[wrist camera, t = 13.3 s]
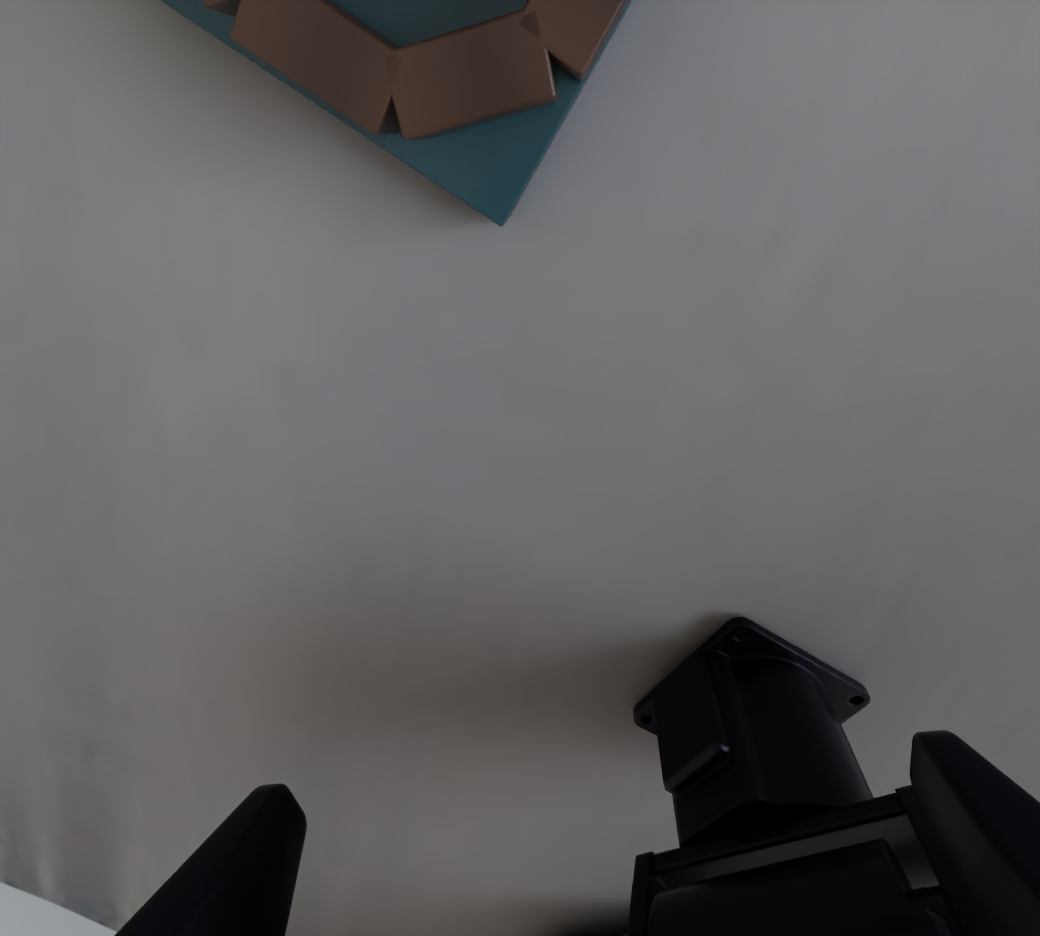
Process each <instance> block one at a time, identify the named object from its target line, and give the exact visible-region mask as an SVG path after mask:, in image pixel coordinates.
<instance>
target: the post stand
mask: <svg viewBox="0 0 1040 936" xmlns="http://www.w3.org/2000/svg"><path fill="white" fill-rule="evenodd" d="M161 1H162V2H164V3H165V4H167V5H168V6H170V7H171V8H173V9H174V10H176V11H177V12H179V13H180V14H182V15H183V16H185V17H186V18H188V19H189V20H191V21H192V22H194V23H195V24H197V25H198V26H200V27H201V28H203V29H204V30H206V31H207V32H209V33H210V34H212V35H213V36H215V37H216V38H218V39H219V40H221V41H222V42H224V43H225V44H227V45H228V46H230V47H231V48H233V49H234V50H236V51H237V52H239V53H240V54H242V55H243V56H245V57H246V58H248V59H249V60H251V61H252V62H254V63H256V64H257V65H259V66H260V67H262V68H263V69H265V70H266V71H268V72H269V73H271V74H272V75H274V76H275V77H277V78H278V79H280V80H281V81H283V82H284V83H286V84H287V85H289V86H290V87H292V88H293V89H295V90H296V91H298V92H299V93H301V94H302V95H304V96H305V97H307V98H308V99H310V100H311V101H313V102H314V103H316V104H317V105H319V106H320V107H322V108H323V109H325V110H326V111H328V112H329V113H331V114H332V115H334V116H335V117H337V118H338V119H340V120H341V121H343V122H344V123H346V124H347V125H349V126H350V127H352V128H353V129H355V130H356V131H358V132H359V133H361V134H362V135H364V136H365V137H367V138H368V139H370V140H371V141H373V142H374V143H376V144H377V145H379V146H380V147H382V148H383V149H385V150H386V151H388V152H389V153H391V154H392V155H394V156H395V157H397V158H398V159H400V160H401V161H403V162H404V163H406V164H407V165H409V166H410V167H412V168H413V169H415V170H416V171H418V172H419V173H421V174H422V175H424V176H425V177H427V178H428V179H430V180H431V181H433V182H434V183H436V184H437V185H439V186H440V187H442V188H443V189H445V190H446V191H448V192H449V193H451V194H452V195H454V196H455V197H457V198H458V199H460V200H461V201H463V202H464V203H466V204H468V205H469V206H471V207H472V208H474V209H475V210H477V211H478V212H480V213H481V214H483V215H484V216H486V217H487V218H489V219H490V220H492V221H493V222H495V223H496V224H498V225H499V226H503V225H504V224H505V223H506V221H507V220H508V218H509V217H510V215H511V213H512V211H513V210H514V208H515V206H516V204H517V203H518V201H519V199H520V197H521V196H522V194H523V192H524V190H525V188H526V187H527V185H528V183H529V181H530V180H531V178H532V176H533V174H534V173H535V171H536V169H537V167H538V166H539V164H540V162H541V160H542V158H543V157H544V155H545V153H546V151H547V150H548V148H549V146H550V144H551V143H552V141H553V139H554V137H555V136H556V134H557V132H558V130H559V129H560V127H561V125H562V123H563V121H564V120H565V118H566V116H567V114H568V113H569V111H570V109H571V107H572V106H573V104H574V102H575V100H576V99H577V97H578V95H579V93H580V92H581V90H582V88H583V86H584V84H585V83H586V81H587V79H588V77H589V76H590V74H591V72H592V70H593V69H594V67H595V65H596V63H597V62H598V60H599V58H600V56H601V54H602V53H603V51H604V49H605V47H606V46H607V44H608V42H609V40H610V39H611V37H612V35H613V33H614V32H615V30H616V28H617V26H618V25H619V23H620V21H621V19H622V17H623V16H624V14H625V12H626V10H627V9H628V7H629V5H630V3H631V2H632V0H629V1H628V3H627V5H626V7H625V8H624V10H623V12H622V14H621V15H620V17H619V19H618V21H617V22H616V24H615V26H614V28H613V30H612V31H611V33H610V35H609V37H608V38H607V40H606V42H605V44H604V46H603V47H602V49H601V51H600V53H599V54H598V56H597V58H596V60H595V61H594V63H593V65H592V67H591V69H590V70H589V72H588V74H587V76H586V77H585V79H584V81H582V82H579V81H577V80H576V79H575V78H573V77H572V76H570V75H569V74H568V73H566V72H565V71H564V70H562V69H561V68H560V67H558V66H557V65H556V64H554V63H553V62H552V63H553V69H554V74H555V80H556V85H557V91H558V97H559V98H558V102H557V103H555V104H552V105H548V106H545V107H541V108H537V109H534V110H530V111H527V112H523V113H519V114H516V115H512V116H509V117H505V118H502V119H498V120H494V121H491V122H487V123H484V124H480V125H476V126H473V127H469V128H466V129H462V130H458V131H455V132H451V133H448V134H444V135H440V136H437V137H433V138H430V139H423V140H405V139H404V138H403V136H402V133H401V130H400V132H399V133H398V134H372V133H370V132H369V131H367V130H366V129H364V128H363V127H361V126H360V125H358V124H357V123H355V122H354V121H352V120H351V119H349V118H348V117H346V116H345V115H343V114H342V113H340V112H339V111H337V110H336V109H334V108H333V107H331V106H330V105H328V104H327V103H325V102H324V101H322V100H321V99H319V98H318V97H316V96H315V95H313V94H312V93H310V92H309V91H307V90H306V89H304V88H303V87H301V86H300V85H298V84H297V83H295V82H294V81H292V80H291V79H289V78H288V77H286V76H285V75H283V74H282V73H280V72H279V71H277V70H276V69H274V68H273V67H271V66H270V65H268V64H267V63H265V62H264V61H262V60H261V59H259V58H258V57H256V56H255V55H253V54H252V53H250V52H249V51H247V50H246V49H244V48H243V47H241V46H240V45H238V44H237V43H235V42H234V41H232V39H231V38H230V33H231V29H232V26H233V23H234V19H235V17H233V16H230V15H227V14H224V13H221V12H218V11H215V10H212V9H209V8H206V7H205V6H204V4H203V1H202V0H161ZM333 1H335V2H336V3H337V4H339V5H340V6H342V7H343V8H344V9H346V10H347V11H349V12H350V13H352V14H353V15H354V16H356V17H357V18H359V19H360V20H362V21H363V22H364V23H366V24H367V25H369V26H370V27H372V28H373V29H374V30H376V31H377V32H379V33H380V34H381V35H383V36H384V37H386V38H387V39H389V40H390V41H391V42H393V43H394V44H396V45H397V46H399V47H402V46H406V45H409V44H412V43H415V42H419V41H422V40H425V39H428V38H432V37H435V36H438V35H441V34H445V33H448V32H451V31H454V30H457V29H461V28H464V27H467V26H470V25H474V24H477V23H480V22H483V21H487V20H490V19H493V18H496V17H499V16H503V15H506V14H509V13H512V12H516V11H519V10H522V9H523V8H524V6H525V4H526V2H527V0H333Z"/></svg>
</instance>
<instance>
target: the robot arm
mask: <svg viewBox="0 0 1040 936" xmlns="http://www.w3.org/2000/svg"><path fill="white" fill-rule="evenodd" d="M738 630H744V631H743V632H739V633H736V631H738ZM869 702H870V696H869V694H868V692H867V690H866V688H865V687H864V686H863V685H862V684H860V683H859V682H857V681H855V680H854V679H852V678H850V677H848V676H847V675H845V674H843V673H841V672H840V671H838V670H836V669H834V668H833V667H831V666H829V665H827V664H826V663H824V662H822V661H820V660H819V659H817V658H815V657H814V656H812V655H810V654H808V653H807V652H805V651H803V650H801V649H800V648H798V647H796V646H794V645H793V644H791V643H789V642H787V641H786V640H784V639H782V638H781V637H779V636H777V635H775V634H774V633H772V632H770V631H768V630H767V629H765V628H763V627H761V626H760V625H758V624H756V623H754V622H753V621H751V620H749V619H747V618H744V617H736V618H732V619H730V620H729V621H727V622H726V623H725V624H724V625H723V626H722V627H721V628H720V629H719V630H718V631H717V632H715V633H714V634H713V635H712V636H711V637H710V638H709V639H708V640H707V641H706V642H705V643H703V644H702V645H701V646H700V647H699V648H698V649H697V650H696V651H695V652H694V653H693V654H691V655H690V656H689V657H688V658H687V659H686V660H684V661H683V662H682V663H681V664H680V665H679V666H678V667H677V668H676V669H675V670H674V671H672V672H671V673H670V674H669V675H668V676H667V677H666V678H665V679H664V680H663V681H662V682H660V683H659V684H658V685H657V686H656V687H655V688H654V689H653V690H652V691H651V692H650V693H649V694H648V695H647V696H646V697H645V698H644V699H642V700H641V701H640V702H639V703H638V704H637V705H636V706H635V707H634V709H633V716H634V722H635V724H637V725H638V726H639V727H641V728H643V729H645V730H647V731H649V732H651V733H653V734H655V735H657V737H658V745H659V753H660V760H661V768H662V776H663V782H664V787H665V790H667V791H668V792H670V793H672V796H673V803H674V811H675V818H676V825H677V832H678V839H679V846H680V848H676V849H672V850H669V851H665V852H661V853H657V854H654V852H648V853H644V854H640V855H637V856H636V859H635V869H634V879H633V884H632V893H631V903H630V913H629V923H628V933H627V936H1040V802H1039V801H1037V800H1036V799H1035V798H1034V797H1032V796H1031V795H1030V794H1029V793H1027V792H1026V791H1025V790H1024V789H1022V788H1021V787H1020V786H1019V785H1017V784H1016V783H1015V782H1014V781H1013V780H1011V779H1010V778H1009V777H1008V776H1006V775H1005V774H1004V773H1003V772H1001V771H1000V770H999V769H998V768H996V767H995V766H994V765H993V764H991V763H990V762H989V761H988V760H986V759H985V758H984V757H983V756H981V755H980V754H979V753H978V752H977V751H975V750H974V749H973V748H972V747H970V746H969V745H968V744H967V743H965V742H964V741H963V740H962V739H960V738H959V737H958V736H956V735H955V734H953V733H952V732H949V731H946V730H939V731H926V732H918V733H916V734H915V735H914V736H913V740H912V751H911V763H910V779H911V783H912V785H909V786H905V787H901V788H897V789H895V791H896V793H893V794H889V795H885V796H881V797H877V798H873V795H872V793H871V791H870V789H869V786H868V784H867V782H866V779H865V777H864V775H863V773H862V770H861V768H860V766H859V764H858V761H857V759H856V757H855V755H854V752H853V750H852V748H851V746H850V743H849V741H848V739H847V737H846V734H845V732H844V730H843V728H842V725H841V724H842V723H843V722H845V721H846V720H847V719H849V718H850V717H852V716H853V715H854V714H856V713H857V712H859V711H860V710H861V709H863V708H864V707H865V706H867V705H868V704H869ZM306 826H307V823H306V817H305V814H304V812H303V810H302V809H301V807H300V805H299V804H298V802H297V801H296V799H295V797H294V796H293V794H292V793H291V791H290V790H289V788H288V787H287V786H286V785H284V784H270V785H262V786H259V787H257V788H256V789H255V790H254V791H252V792H251V793H250V794H249V796H248V797H247V798H246V799H245V800H244V801H243V802H242V803H241V804H240V805H239V806H238V807H237V808H236V809H235V810H234V811H233V812H232V813H231V814H230V815H229V816H228V817H227V818H226V820H225V821H224V822H223V823H222V824H221V825H220V826H219V827H218V828H217V829H216V830H215V831H214V832H213V833H212V834H211V835H210V836H209V837H208V838H207V839H206V840H205V841H204V843H203V844H202V845H201V846H200V847H199V848H198V849H197V850H196V851H195V852H194V853H193V854H192V855H191V856H190V857H189V858H188V859H187V860H186V861H185V862H184V863H183V864H182V866H181V867H180V868H179V869H178V870H177V871H176V872H175V873H174V874H173V875H172V876H171V877H170V878H169V879H168V880H167V881H166V882H165V883H164V884H163V885H162V886H161V887H160V888H159V890H158V891H157V892H156V893H155V894H154V895H153V896H152V897H151V898H150V899H149V900H148V901H147V902H146V903H145V904H144V905H143V906H142V907H141V908H140V909H139V910H138V911H137V913H136V914H135V915H134V916H133V917H132V918H131V919H130V920H129V921H128V922H127V923H126V924H125V925H124V926H123V927H122V928H121V929H120V930H119V931H118V932H117V933H116V934H115V936H285V932H286V928H287V924H288V919H289V914H290V909H291V904H292V899H293V894H294V889H295V884H296V879H297V874H298V869H299V864H300V860H301V855H302V850H303V845H304V840H305V835H306Z"/></svg>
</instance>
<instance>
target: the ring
mask: <svg viewBox="0 0 1040 936" xmlns="http://www.w3.org/2000/svg"><path fill="white" fill-rule="evenodd" d="M202 1H203V4H204V6H205V7H206V8H209V9H212V10H215V11H218V12H221V13H224V14H227V15H230V16H233V17H235V19H234V23H233V26H232V29H231V33H230V38H231V39H232V41H234V42H235V43H237V44H238V45H240V46H241V47H243V48H244V49H246V50H247V51H249V52H250V53H252V54H253V55H255V56H256V57H258V58H259V59H261V60H262V61H264V62H265V63H267V64H268V65H270V66H271V67H273V68H274V69H276V70H277V71H279V72H280V73H282V74H283V75H285V76H286V77H288V78H289V79H291V80H292V81H294V82H295V83H297V84H298V85H300V86H301V87H303V88H304V89H306V90H307V91H309V92H310V93H312V94H313V95H315V96H316V97H318V98H319V99H321V100H322V101H324V102H325V103H327V104H328V105H330V106H331V107H333V108H334V109H336V110H337V111H339V112H340V113H342V114H343V115H345V116H346V117H348V118H349V119H351V120H352V121H354V122H355V123H357V124H358V125H360V126H361V127H363V128H364V129H366V130H367V131H369V132H370V133H372V134H398V133H399V132H400V130H401V133H402V136H403V138H404V139H405V140H423V139H430V138H433V137H437V136H440V135H444V134H448V133H451V132H455V131H458V130H462V129H466V128H469V127H473V126H476V125H480V124H484V123H487V122H491V121H494V120H498V119H502V118H505V117H509V116H512V115H516V114H519V113H523V112H527V111H530V110H534V109H537V108H541V107H545V106H548V105H552V104H555V103H557V102H558V98H559V97H558V91H557V85H556V80H555V74H554V69H553V63H554V64H556V65H557V66H558V67H560V68H561V69H562V70H564V71H565V72H566V73H568V74H569V75H570V76H572V77H573V78H575V79H576V80H577V81H579V82H582V81H584V79H585V77H586V76H587V74H588V72H589V70H590V69H591V67H592V65H593V63H594V61H595V60H596V58H597V56H598V54H599V53H600V51H601V49H602V47H603V46H604V44H605V42H606V40H607V38H608V37H609V35H610V33H611V31H612V30H613V28H614V26H615V24H616V22H617V21H618V19H619V17H620V15H621V14H622V12H623V10H624V8H625V7H626V5H627V3H628V1H629V0H527V2H526V4H525V6H524V8H523V9H522V10H519V11H516V12H512V13H509V14H506V15H503V16H499V17H496V18H493V19H490V20H487V21H483V22H480V23H477V24H474V25H470V26H467V27H464V28H461V29H457V30H454V31H451V32H448V33H445V34H441V35H438V36H435V37H432V38H428V39H425V40H422V41H419V42H415V43H412V44H409V45H406V46H402V47H399V46H397V45H396V44H394V43H393V42H391V41H390V40H389V39H387V38H386V37H384V36H383V35H381V34H380V33H379V32H377V31H376V30H374V29H373V28H372V27H370V26H369V25H367V24H366V23H364V22H363V21H362V20H360V19H359V18H357V17H356V16H354V15H353V14H352V13H350V12H349V11H347V10H346V9H344V8H343V7H342V6H340V5H339V4H337V3H336V2H335V1H333V0H202ZM552 62H553V63H552Z"/></svg>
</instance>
